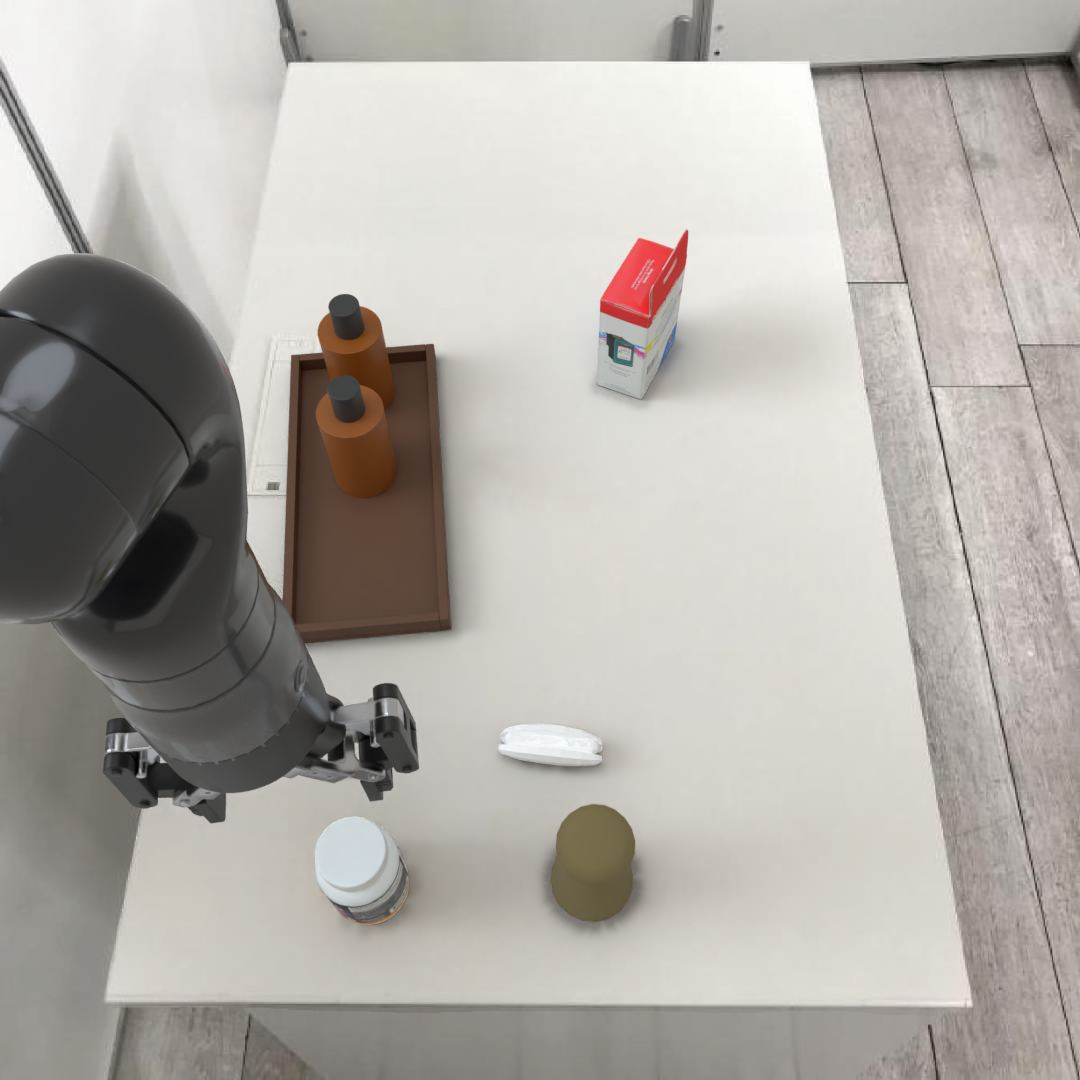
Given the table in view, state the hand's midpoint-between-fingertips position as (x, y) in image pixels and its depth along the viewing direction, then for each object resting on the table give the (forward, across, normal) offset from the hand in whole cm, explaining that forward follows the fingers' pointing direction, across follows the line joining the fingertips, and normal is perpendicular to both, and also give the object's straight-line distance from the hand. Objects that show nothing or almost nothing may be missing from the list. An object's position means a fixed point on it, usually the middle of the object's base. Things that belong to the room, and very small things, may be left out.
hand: (297, 794), depth 58 cm
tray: (+23, -2, -35) cm, 42 cm away
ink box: (+23, -28, -46) cm, 59 cm away
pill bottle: (+23, -1, 0) cm, 23 cm away
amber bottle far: (+22, -2, -46) cm, 51 cm away
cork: (+23, -17, +1) cm, 28 cm away
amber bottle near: (+22, -2, -37) cm, 43 cm away
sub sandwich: (+23, -15, -9) cm, 29 cm away
